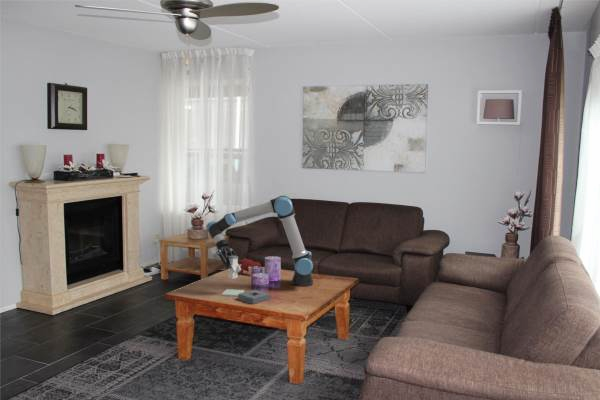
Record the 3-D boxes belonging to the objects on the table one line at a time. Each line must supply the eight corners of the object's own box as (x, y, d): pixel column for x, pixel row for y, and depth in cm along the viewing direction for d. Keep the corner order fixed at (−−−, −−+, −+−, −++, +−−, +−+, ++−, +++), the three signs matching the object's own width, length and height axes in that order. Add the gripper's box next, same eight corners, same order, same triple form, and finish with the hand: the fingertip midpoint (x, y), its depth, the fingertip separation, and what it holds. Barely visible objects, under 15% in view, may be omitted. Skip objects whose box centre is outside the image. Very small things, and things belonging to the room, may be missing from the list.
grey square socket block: (254, 295, 339) (254, 289, 339) (269, 299, 330) (270, 294, 329) (238, 299, 329) (238, 293, 328) (253, 304, 319) (253, 298, 319)
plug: (233, 276, 343) (233, 255, 342) (238, 277, 340) (238, 256, 339) (227, 277, 340) (228, 256, 338) (232, 279, 337) (232, 257, 335)
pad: (244, 291, 346) (244, 290, 346) (239, 296, 334) (239, 295, 334) (226, 290, 348) (226, 289, 348) (221, 295, 336) (221, 294, 336)
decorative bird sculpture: (255, 283, 384) (266, 266, 389) (247, 276, 379) (259, 259, 384) (234, 275, 405) (245, 259, 411) (226, 268, 400) (238, 253, 406)
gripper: (228, 244, 355) (244, 272, 345) (207, 247, 342) (223, 277, 333) (233, 237, 351) (249, 266, 341) (212, 240, 338) (229, 270, 329)
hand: (236, 271), depth 337 cm, fingers closed on plug, 4 cm apart
